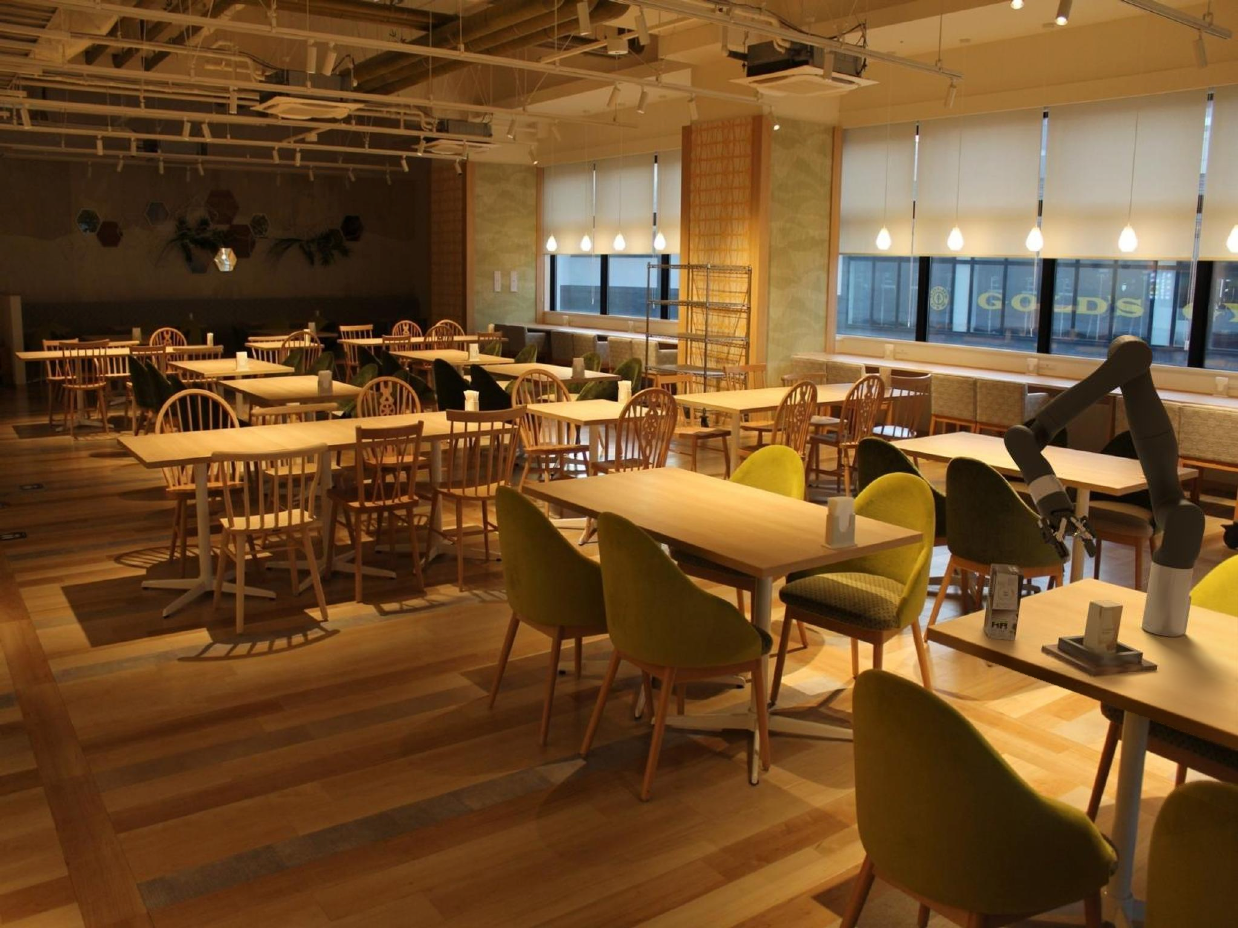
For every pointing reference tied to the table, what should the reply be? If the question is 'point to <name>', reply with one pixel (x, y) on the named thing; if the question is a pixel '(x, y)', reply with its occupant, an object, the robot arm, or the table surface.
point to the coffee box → (1003, 601)
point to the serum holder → (1099, 657)
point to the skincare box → (1102, 626)
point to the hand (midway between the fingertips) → (1080, 556)
